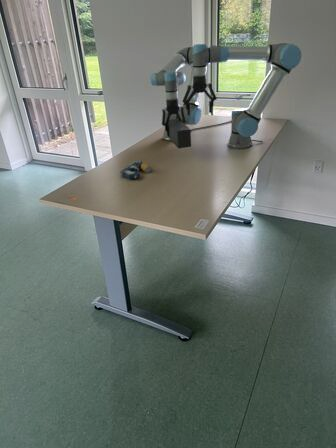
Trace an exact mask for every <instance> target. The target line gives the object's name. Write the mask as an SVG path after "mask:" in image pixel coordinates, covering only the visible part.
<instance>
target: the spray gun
mask: <svg viewBox="0 0 336 448" xmlns="http://www.w3.org/2000/svg"><path fill="white" fill-rule="evenodd" d="M140 169H141V170H142V172H143V171H144V172H145V173H147V174H149V173H150V172H152V166H150V165H149V164H147V162H143V161H142V160H133V161H132V162H131V163H130V164H129V165H127V166H126V167H125V168H123V169H122V170H121V171H120V172H119V177H122V178H127V179H129V180H134V179H138V178H139V177H141V172H140Z"/></svg>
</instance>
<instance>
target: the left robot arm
mask: <svg viewBox="0 0 336 448" xmlns="http://www.w3.org/2000/svg"><path fill="white" fill-rule="evenodd" d="M206 47H207V48H209V46H206ZM209 65H211V63H206V69H207V67H208V66H209ZM184 66H185V67H186V66H189V67H190V69H191V71H190V77H189V82H188V85H190V86H192V85H193V76H194V75H193V46H188V47H184V48H182V49H180V50H178V51H177V52H176V53H175V54H174V55H173V56H172V58H171V60H170V61H169V62H168V63H166V65H164V67H162V68H161V69H160V70H159V71H158V72H153V73H151V75H150V79H149V80H150V84H151V85H152V86H153V87H155V86H156V87H163V86H164V91H165V99H166V100H165V105H166V106H165V107H164V108H162V109H161V112H162V118H161V125H162V126H163V127H164V130H163V135H162V139H163V140H164V141H167V142H172V141H171V139H170V138H169V137H168V136H169V127H168V122H169V120H172V119H179V120H180V121H181V122H183V123H184V124H185V125H186V126H196V125H197V124H199V122H200V121H201V118H202V109H201V107H200V105H199V99H200V94H201V93H196V94H195V95H194V96H193V97H192V99H191V100H190V102H189V104H190V115H188V114H187V109H186V104H185V103H183V104H182V106H180V104H179V94H178V93H179V92H178V90H179V89H178V87H179V86H182V85H183V84H184V83H186V79H187V77H186V74H185V73H184V72H183V71H178V70H179V69H181V68H183V67H184ZM193 90H194V89H193V88H192V89H191V90H190V93H189V95H188V97H189V96H190V95H191V93H192V91H193ZM188 97H187V99H188ZM229 123H232V119H231V120H228V121H225V122H221V123H216V124H211V125H207V126H205V125H204V126H200V127H195V128H190V131H191V132H192V131H195V130H200V129H205V128H210V127H216V126H222V125H226V124H229Z"/></svg>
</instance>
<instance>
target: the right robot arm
mask: <svg viewBox="0 0 336 448" xmlns="http://www.w3.org/2000/svg"><path fill="white" fill-rule="evenodd" d="M192 47H193V75H194V76H193V85H192V86H190V85H189V84H187V89H186V91H185V94H184V96H183V98H182V103H183V104H184V103H185V104H186V109H187V114H188V115H190V104H189V102H190V100H191V99H192V97H193V96H194V95H195V94H196V93H200V94H201V93H204V94H205V95H206V96H207V98H208V99H209V101H208V112H209V113H210V114H212V113H213V108H214V102H215V101H216V100H217V95H216V94H215V92H214V89H213V85H212V83H210V82H208V83H207V68H206V63H210V64H214V63H216V64H219V63H226V62H229V61H237V62H238V61H239V62H241V61H243V62H253V61H255V62H264V63H265V64H270V70H269V72H268V74H267V75H266V77H265V78H264V80H263V81H262V84H261V85H260V87H259V89H258V91H257V92H256V94H255V95H254V97H253V99H252V101H251V102H250V104H249V105H248V107H247V108H238V109H237V108H236V109H233V110H231V115H230V116H231V120H232V122H231V127H230V128H231V131H230V136H229V139H228V141H227V142H228V143H227V146H228V147H229V148H234V149H245V148H249V147H251V146H252V145H253V144H252V143H253V142H257V143H263V140H256V139H252V136H255V134H256V133H257V132H258V130H259V123H260V122H261V120H262V113H264V111H265V109H266V107H267V106H268V104H269V103H270V101H271V99H272V97H273V96H274V94H275V92H276V90H277V89H278V87H280V84H281V83H282V81H283V79H284V78H285V77H286V76H289V74H290V73H291V72H292V70H293V69H295V68H296V67H297V66H299V64H300V62H301V60H302V50H301V49H300V47H299V46H297V45H296V44H293V43H286V42H283V43H282V42H281V43H275V44H273V43H272V44H266V45H264V46H260V45H259V46H257V45H256V46H253V45H251V46H249V45H247V46H246V45H245V46H244V45H210V46H207V44H206V43H197V44H194V45H193V46H192ZM207 47H208V48H207ZM192 88H193V89H194V90H193V91H192V93H191V95H190V96H189V97H188V95H189V93H190V90H191V89H192ZM206 88H208V90H209V92H210V93H209V92H208V91H207V89H206ZM187 97H188V99H187Z"/></svg>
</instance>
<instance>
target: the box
mask: <svg viewBox="0 0 336 448" xmlns="http://www.w3.org/2000/svg"><path fill="white" fill-rule="evenodd" d="M168 127H169V136H168V137H169V138H170V139H171V141H170V142H172V143H173V144H174V145H175V147H176V148H177V149H184V148H191V147H192V135H191V133H192V131H190V130H191V128H190V127H188V125H185V124H184V123H183V122H181V121H180V120H179V119H172V120H169V122H168Z"/></svg>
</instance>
